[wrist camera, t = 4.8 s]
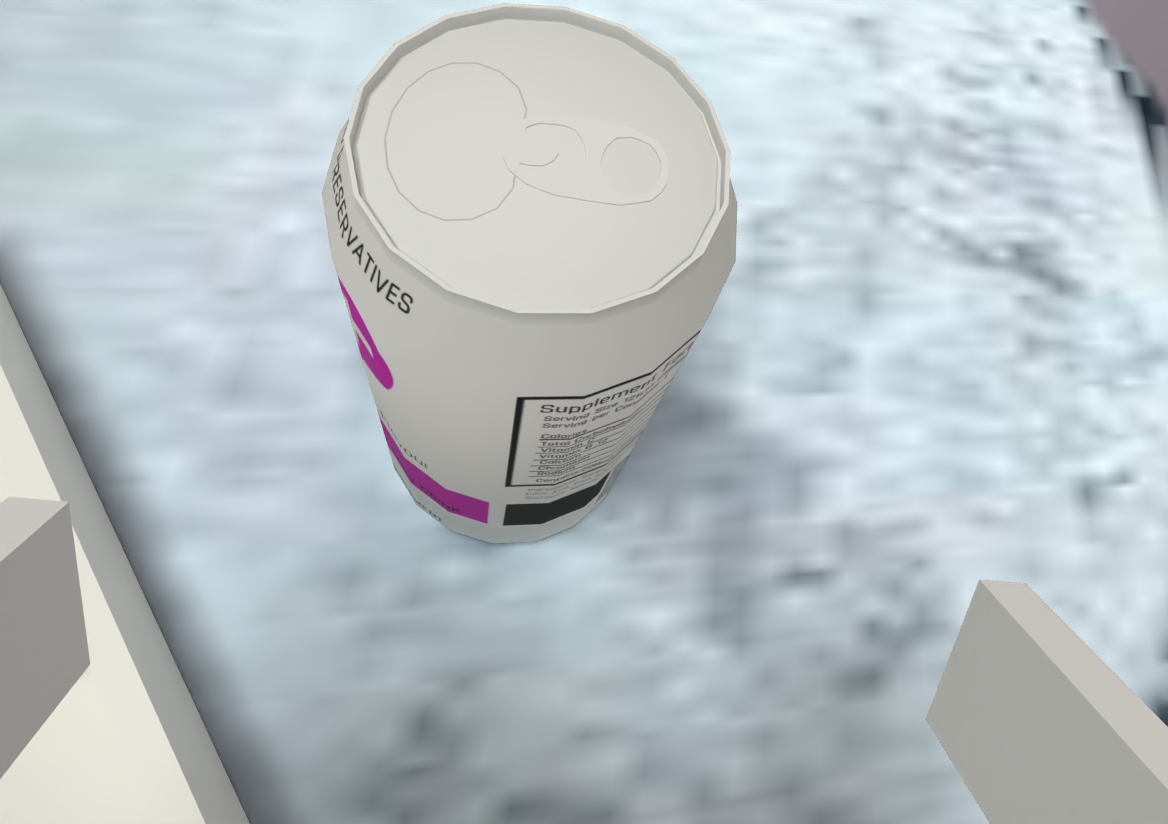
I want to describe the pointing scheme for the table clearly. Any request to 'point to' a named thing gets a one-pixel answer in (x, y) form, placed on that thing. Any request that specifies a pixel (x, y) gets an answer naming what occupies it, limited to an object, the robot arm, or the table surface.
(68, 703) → the tray
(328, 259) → the table surface
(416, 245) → the supplement can
